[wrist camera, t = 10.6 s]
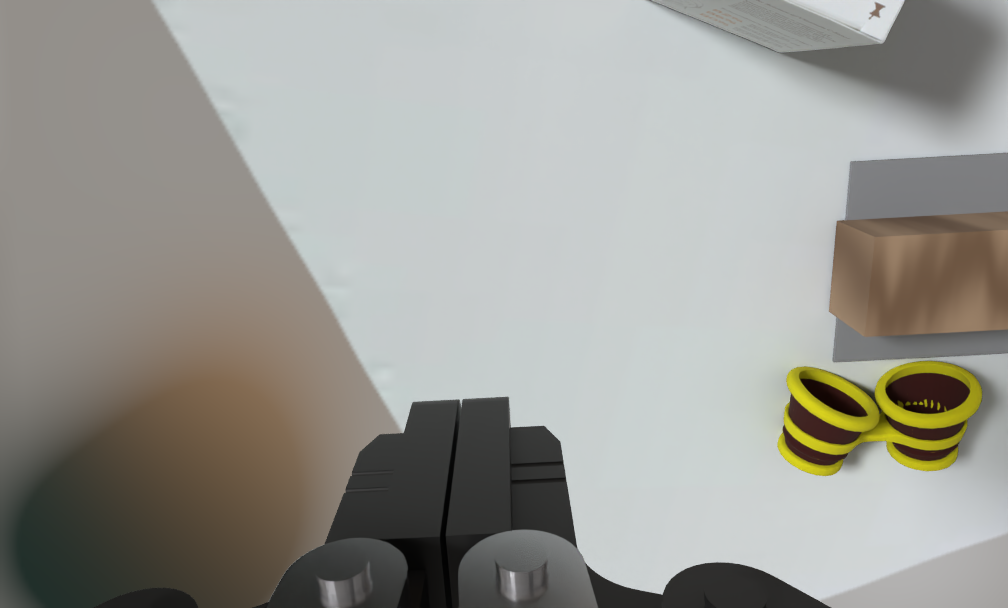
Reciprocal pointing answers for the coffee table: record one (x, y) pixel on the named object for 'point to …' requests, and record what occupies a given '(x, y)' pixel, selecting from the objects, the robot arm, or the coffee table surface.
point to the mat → (923, 193)
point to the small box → (797, 21)
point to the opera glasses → (878, 416)
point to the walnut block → (921, 274)
